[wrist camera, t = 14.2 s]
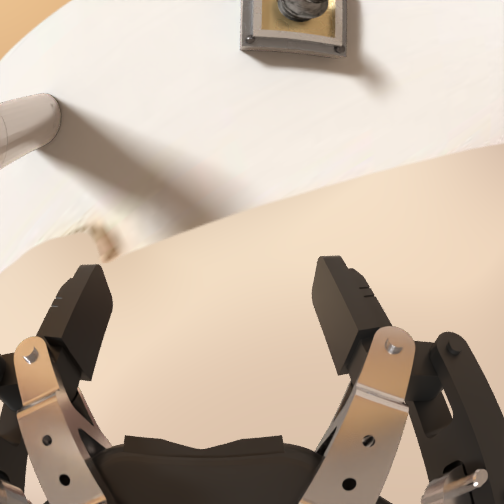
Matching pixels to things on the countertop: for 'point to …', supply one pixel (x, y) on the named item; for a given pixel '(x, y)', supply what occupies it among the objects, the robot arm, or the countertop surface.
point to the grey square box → (293, 29)
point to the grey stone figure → (302, 9)
